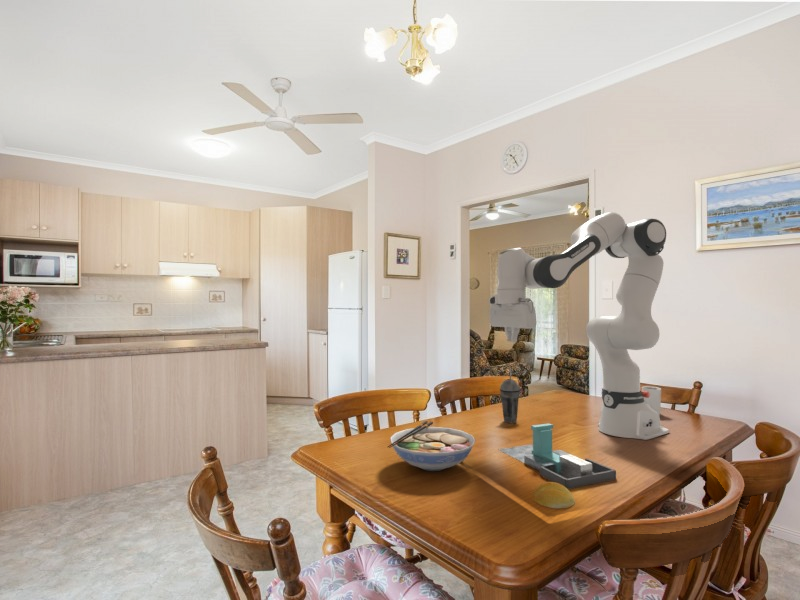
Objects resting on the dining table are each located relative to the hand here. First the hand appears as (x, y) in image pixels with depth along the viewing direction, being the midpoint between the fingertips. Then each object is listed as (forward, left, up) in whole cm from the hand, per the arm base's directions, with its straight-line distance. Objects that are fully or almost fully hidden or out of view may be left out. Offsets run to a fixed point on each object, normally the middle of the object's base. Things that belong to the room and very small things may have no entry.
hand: (512, 341), depth 138 cm
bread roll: (+20, +40, -32) cm, 55 cm away
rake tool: (+6, +25, -30) cm, 39 cm away
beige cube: (+6, +31, -30) cm, 44 cm away
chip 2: (+6, +35, -30) cm, 46 cm away
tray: (+6, +33, -31) cm, 46 cm away
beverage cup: (-12, -18, -31) cm, 38 cm away
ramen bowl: (+34, +11, -31) cm, 48 cm away
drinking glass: (-70, -6, -31) cm, 77 cm away
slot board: (+6, +19, -31) cm, 37 cm away
